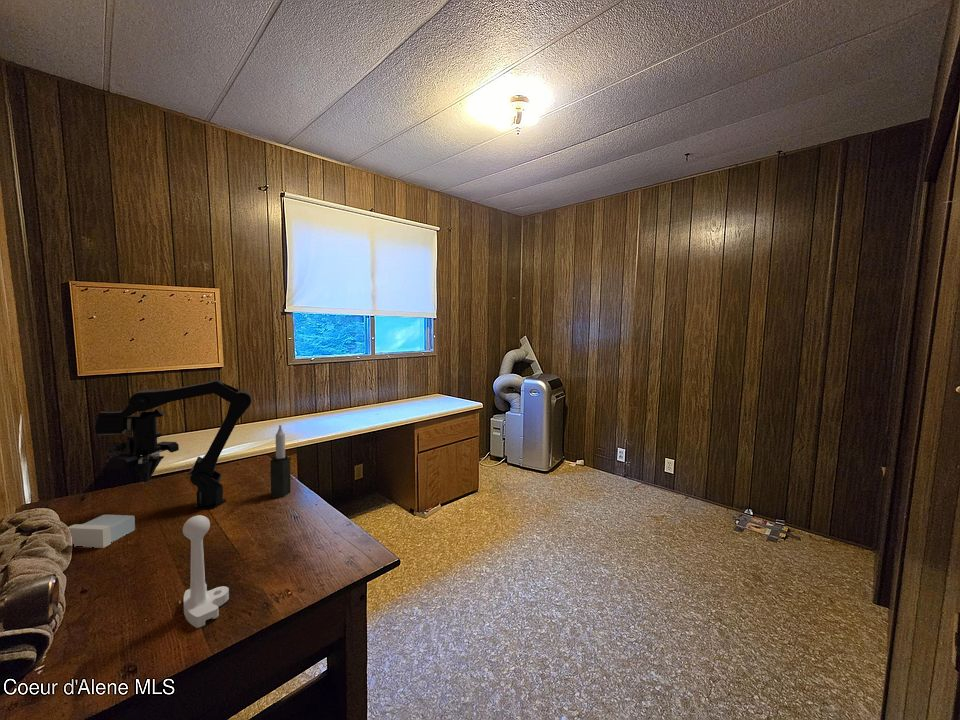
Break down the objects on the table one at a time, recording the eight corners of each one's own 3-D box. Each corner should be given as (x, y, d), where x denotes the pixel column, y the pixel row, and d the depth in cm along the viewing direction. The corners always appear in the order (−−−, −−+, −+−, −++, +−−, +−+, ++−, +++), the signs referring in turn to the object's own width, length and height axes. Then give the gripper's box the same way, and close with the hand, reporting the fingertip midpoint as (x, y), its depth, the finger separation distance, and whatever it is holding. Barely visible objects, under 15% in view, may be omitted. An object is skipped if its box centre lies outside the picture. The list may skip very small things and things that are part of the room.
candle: (281, 498, 132) (281, 427, 130) (269, 496, 133) (268, 426, 131) (292, 492, 137) (291, 423, 135) (279, 490, 138) (279, 422, 136)
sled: (134, 529, 108) (134, 515, 108) (110, 543, 101) (109, 528, 101) (104, 528, 109) (104, 514, 108) (78, 541, 102) (77, 526, 101)
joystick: (179, 602, 80) (177, 511, 79) (221, 586, 86) (220, 500, 84) (190, 631, 73) (188, 530, 71) (236, 611, 78) (234, 517, 77)
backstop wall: (111, 543, 101) (110, 525, 101) (103, 548, 99) (102, 529, 99) (75, 542, 102) (74, 524, 101) (66, 546, 100) (66, 527, 99)
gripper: (146, 423, 125) (147, 470, 126) (86, 439, 106) (88, 493, 107) (179, 425, 125) (180, 471, 126) (124, 440, 106) (126, 494, 107)
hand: (145, 481), depth 117 cm, fingers closed
